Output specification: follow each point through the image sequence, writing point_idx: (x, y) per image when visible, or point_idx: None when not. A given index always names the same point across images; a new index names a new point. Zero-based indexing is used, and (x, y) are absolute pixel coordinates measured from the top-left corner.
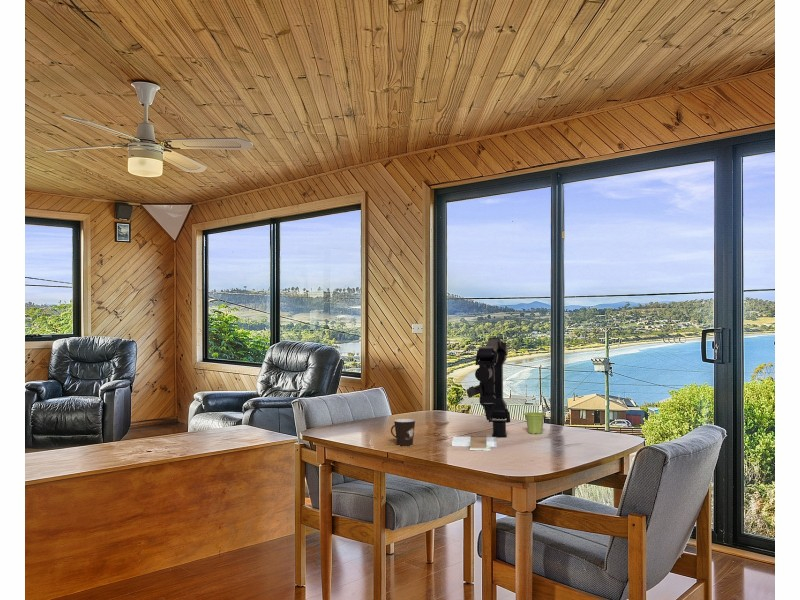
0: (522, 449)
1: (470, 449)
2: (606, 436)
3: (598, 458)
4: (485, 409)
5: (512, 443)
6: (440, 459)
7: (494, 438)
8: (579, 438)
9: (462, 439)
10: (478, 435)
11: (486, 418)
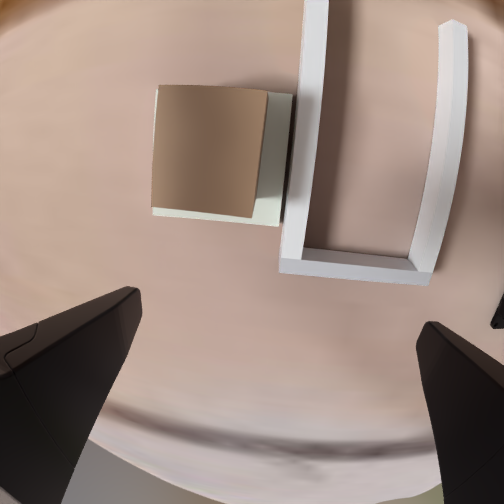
0: (213, 359)
1: (157, 93)
2: (383, 499)
3: (123, 459)
4: (3, 353)
5: (364, 340)
6: (9, 11)
7: (392, 271)
8: (382, 477)
9: (445, 74)
10: (249, 152)
11: (114, 291)
